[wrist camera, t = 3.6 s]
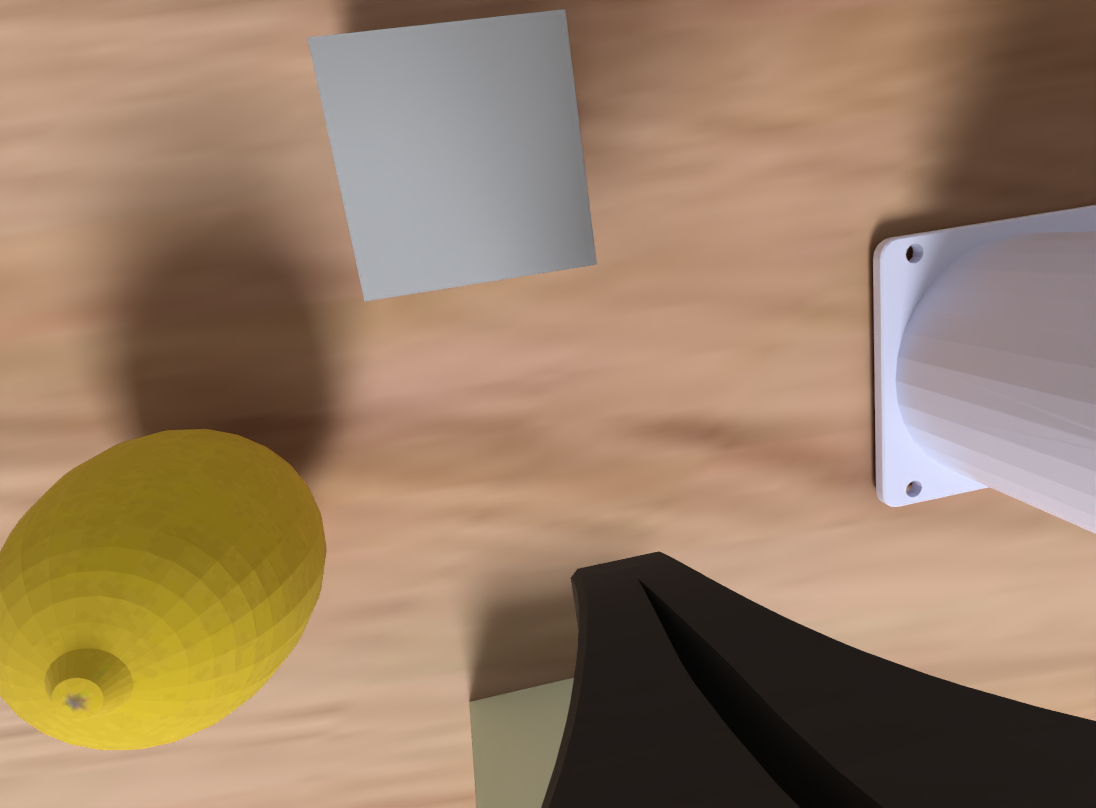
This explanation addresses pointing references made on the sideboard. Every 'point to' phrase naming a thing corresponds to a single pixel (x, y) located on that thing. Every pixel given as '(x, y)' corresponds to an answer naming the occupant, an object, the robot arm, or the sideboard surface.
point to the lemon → (156, 588)
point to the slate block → (457, 151)
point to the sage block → (518, 744)
